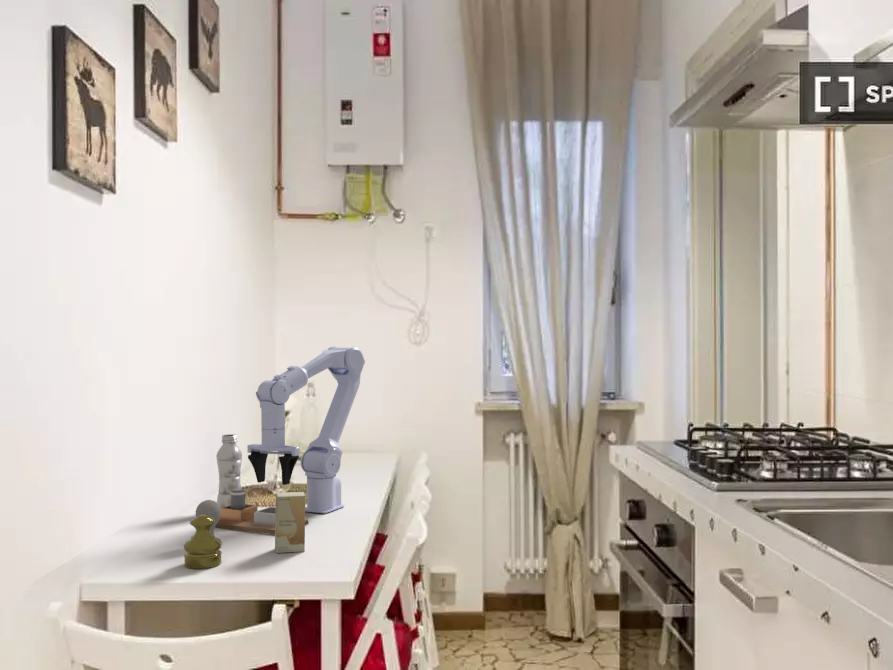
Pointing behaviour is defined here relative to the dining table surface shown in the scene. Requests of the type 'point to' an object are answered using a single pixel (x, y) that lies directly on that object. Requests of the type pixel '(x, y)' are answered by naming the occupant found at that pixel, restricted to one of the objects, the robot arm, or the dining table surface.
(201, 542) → the gold chess piece
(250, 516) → the copper collar
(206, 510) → the light bulb
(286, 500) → the skincare box
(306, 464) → the robot arm
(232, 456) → the plastic bottle
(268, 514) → the steel collar
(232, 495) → the grey domed cylinder
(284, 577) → the dining table surface
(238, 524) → the walnut board
